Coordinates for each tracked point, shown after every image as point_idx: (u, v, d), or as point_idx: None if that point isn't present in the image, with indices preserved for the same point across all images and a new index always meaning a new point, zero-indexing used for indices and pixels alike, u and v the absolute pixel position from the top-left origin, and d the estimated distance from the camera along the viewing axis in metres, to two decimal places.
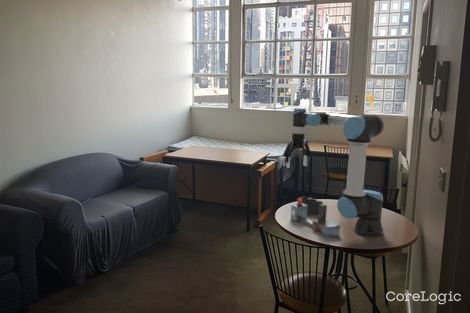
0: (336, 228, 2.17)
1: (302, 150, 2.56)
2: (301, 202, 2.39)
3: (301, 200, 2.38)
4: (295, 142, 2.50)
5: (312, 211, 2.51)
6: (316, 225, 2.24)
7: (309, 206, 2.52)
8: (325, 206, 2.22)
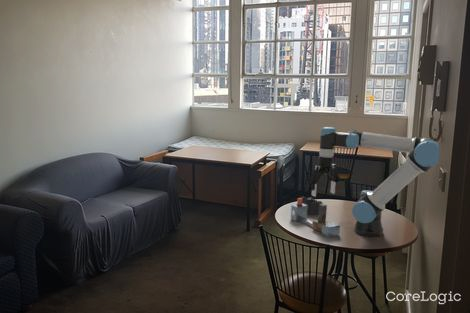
0: (336, 228, 2.17)
1: (330, 175, 2.23)
2: (301, 202, 2.39)
3: (301, 200, 2.38)
4: (322, 167, 2.16)
5: (312, 211, 2.51)
6: (316, 225, 2.24)
7: (309, 206, 2.52)
8: (325, 206, 2.22)
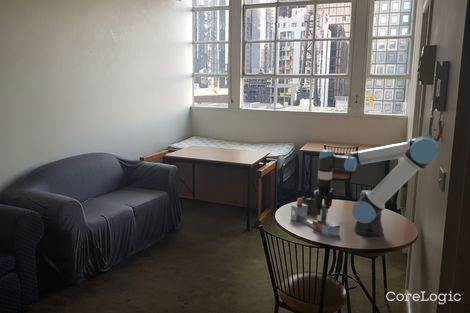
0: (336, 228, 2.17)
1: (324, 199, 2.23)
2: (301, 202, 2.39)
3: (301, 200, 2.38)
4: (321, 189, 2.18)
5: (311, 211, 2.51)
6: (316, 225, 2.24)
7: (309, 206, 2.51)
8: (325, 206, 2.22)
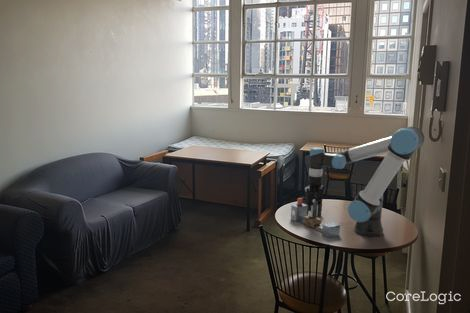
0: (336, 228, 2.17)
1: (315, 196, 2.30)
2: (301, 202, 2.39)
3: (301, 200, 2.38)
4: (312, 185, 2.25)
5: None
6: (307, 221, 2.30)
7: None
8: (316, 202, 2.28)
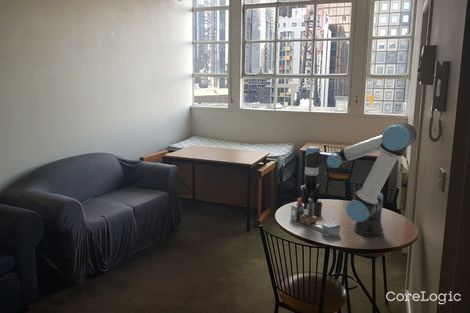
0: (336, 228, 2.17)
1: (311, 194, 2.33)
2: (301, 202, 2.39)
3: None
4: (307, 184, 2.28)
5: None
6: (303, 219, 2.33)
7: None
8: (312, 201, 2.31)
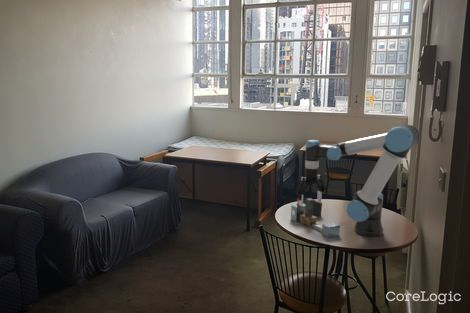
0: (336, 228, 2.17)
1: (316, 186, 2.33)
2: None
3: None
4: (308, 178, 2.27)
5: None
6: (303, 219, 2.33)
7: None
8: (312, 201, 2.31)
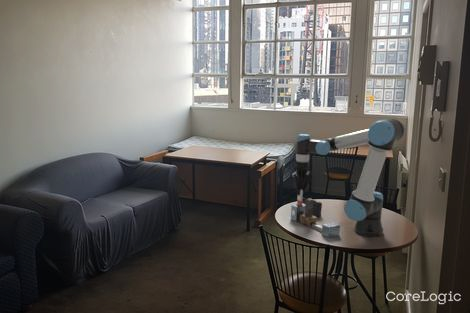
0: (336, 228, 2.17)
1: None
2: (301, 204, 2.39)
3: (301, 202, 2.39)
4: (298, 171, 2.34)
5: None
6: (303, 219, 2.33)
7: None
8: (312, 201, 2.31)
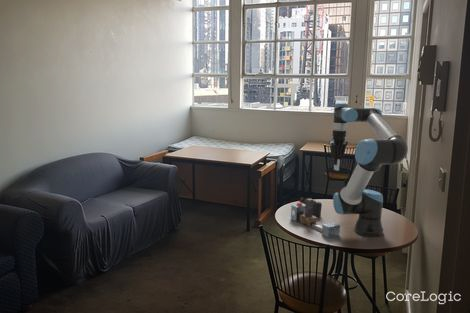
0: (336, 228, 2.17)
1: None
2: None
3: (301, 204, 2.39)
4: (336, 139, 2.32)
5: None
6: (303, 219, 2.33)
7: None
8: (312, 201, 2.31)
